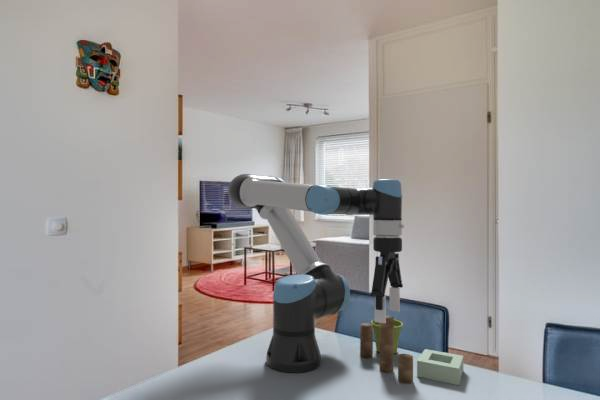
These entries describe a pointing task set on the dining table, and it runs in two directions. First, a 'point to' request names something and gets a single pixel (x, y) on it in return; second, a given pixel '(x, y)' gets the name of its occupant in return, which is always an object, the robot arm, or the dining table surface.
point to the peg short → (405, 368)
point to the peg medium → (366, 340)
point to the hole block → (440, 366)
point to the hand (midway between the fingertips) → (387, 316)
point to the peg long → (387, 345)
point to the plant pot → (396, 333)
